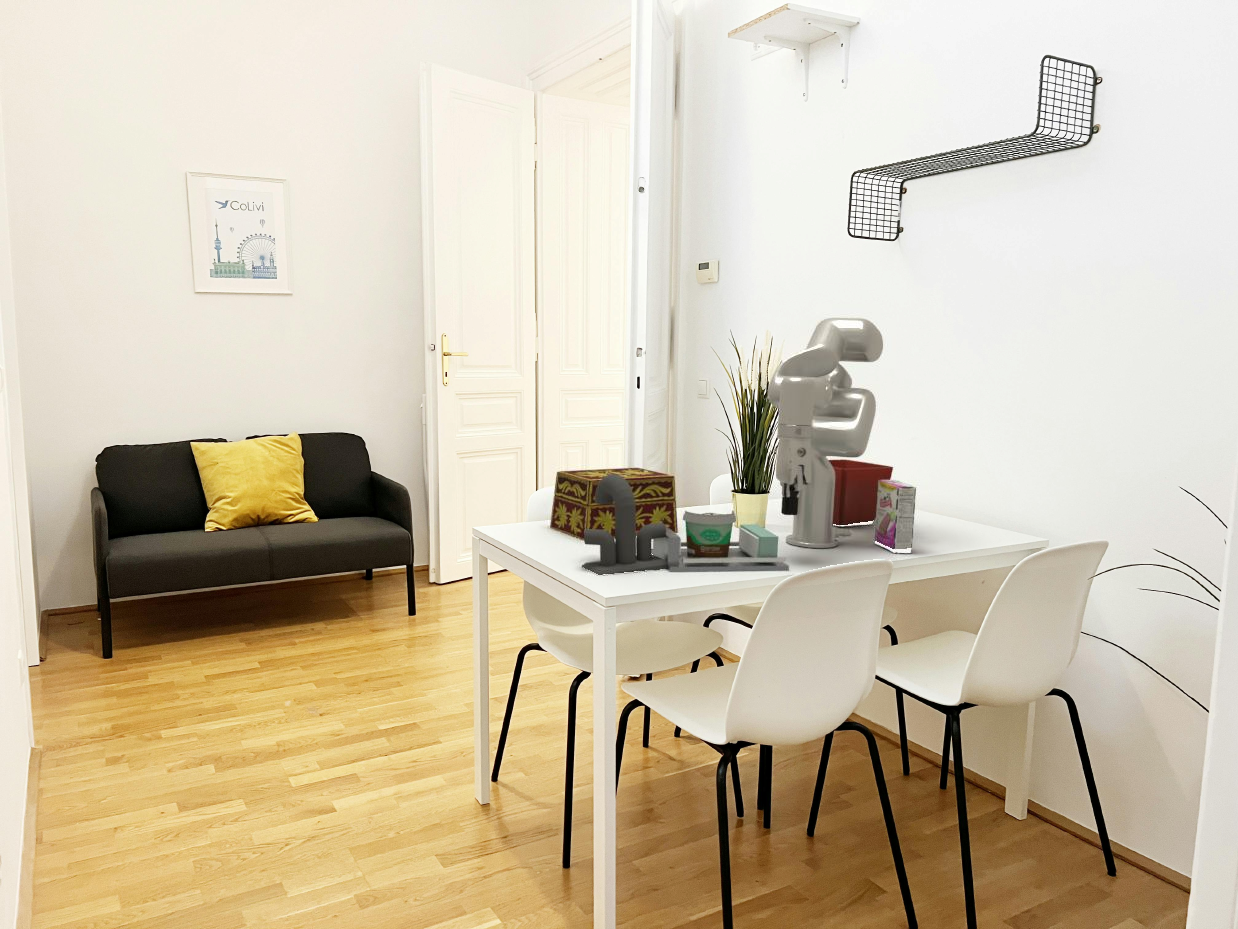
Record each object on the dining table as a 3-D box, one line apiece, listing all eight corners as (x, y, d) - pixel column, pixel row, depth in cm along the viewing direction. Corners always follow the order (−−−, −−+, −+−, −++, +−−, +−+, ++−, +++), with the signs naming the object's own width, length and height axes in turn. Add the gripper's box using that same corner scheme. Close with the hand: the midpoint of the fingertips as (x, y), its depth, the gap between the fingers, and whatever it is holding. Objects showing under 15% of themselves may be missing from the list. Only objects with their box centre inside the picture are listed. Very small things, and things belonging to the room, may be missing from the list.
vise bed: (760, 552, 216) (762, 522, 215) (788, 570, 199) (790, 538, 198) (650, 553, 211) (651, 523, 210) (669, 571, 194) (671, 539, 193)
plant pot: (841, 515, 271) (845, 458, 269) (890, 526, 255) (895, 466, 253) (792, 519, 262) (795, 460, 259) (840, 531, 245) (844, 469, 243)
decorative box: (638, 520, 252) (640, 466, 250) (678, 533, 236) (680, 475, 234) (549, 528, 237) (550, 470, 235) (585, 542, 222) (587, 480, 220)
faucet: (636, 553, 211) (635, 466, 208) (672, 568, 197) (672, 476, 194) (564, 563, 202) (562, 473, 199) (597, 580, 188) (595, 484, 185)
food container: (689, 561, 200) (691, 515, 199) (680, 554, 206) (682, 510, 205) (742, 559, 203) (745, 515, 202) (732, 553, 209) (734, 510, 208)
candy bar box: (872, 544, 230) (877, 479, 228) (891, 544, 231) (896, 479, 229) (893, 554, 219) (897, 486, 217) (912, 554, 220) (917, 486, 218)
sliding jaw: (755, 548, 214) (756, 524, 213) (776, 562, 200) (778, 536, 200) (737, 548, 213) (738, 524, 212) (757, 562, 199) (758, 536, 199)
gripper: (824, 435, 198) (818, 520, 200) (797, 431, 212) (792, 509, 214) (791, 434, 196) (785, 519, 198) (766, 430, 211) (761, 509, 213)
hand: (789, 514), depth 206 cm, fingers closed
